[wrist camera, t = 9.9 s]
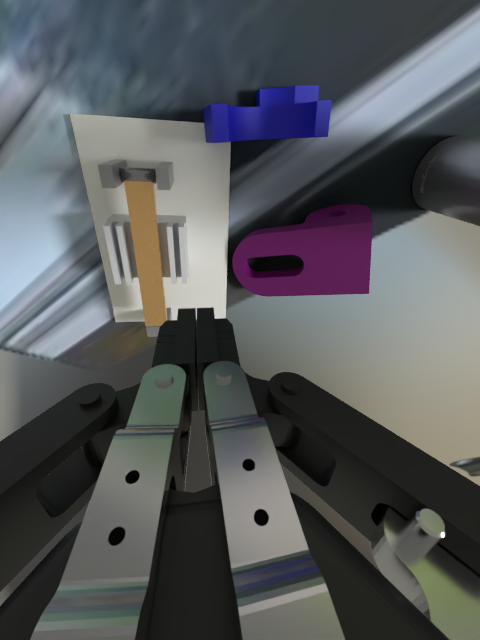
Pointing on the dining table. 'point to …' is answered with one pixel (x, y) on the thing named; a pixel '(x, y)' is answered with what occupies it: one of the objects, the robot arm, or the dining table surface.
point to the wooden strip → (146, 240)
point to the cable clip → (270, 116)
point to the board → (159, 209)
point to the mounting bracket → (312, 254)
